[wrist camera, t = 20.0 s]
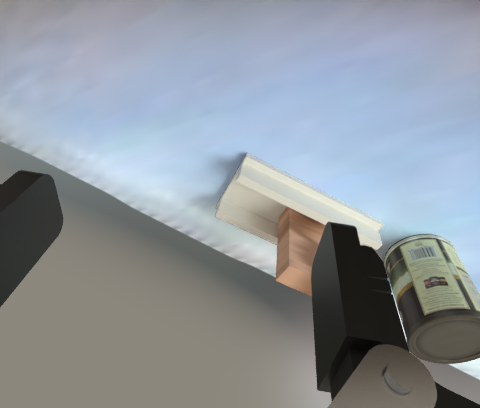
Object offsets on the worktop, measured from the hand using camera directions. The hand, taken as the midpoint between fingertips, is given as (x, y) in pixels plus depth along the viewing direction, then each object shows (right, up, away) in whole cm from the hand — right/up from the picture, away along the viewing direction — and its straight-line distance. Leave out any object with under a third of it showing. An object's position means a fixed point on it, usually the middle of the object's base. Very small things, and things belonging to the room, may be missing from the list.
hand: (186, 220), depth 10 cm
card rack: (+10, -1, +41) cm, 42 cm away
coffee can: (+29, -8, +43) cm, 53 cm away
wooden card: (+11, -2, +40) cm, 41 cm away
